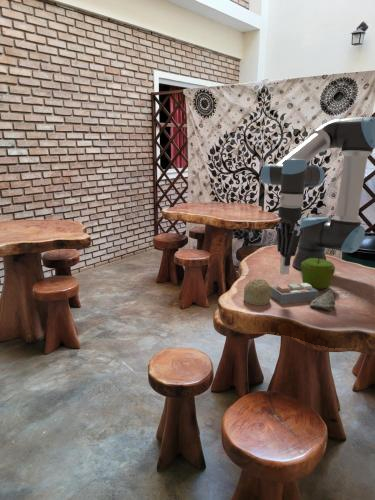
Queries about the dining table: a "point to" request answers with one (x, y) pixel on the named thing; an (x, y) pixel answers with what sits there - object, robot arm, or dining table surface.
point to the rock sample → (324, 301)
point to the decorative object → (257, 292)
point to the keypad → (294, 295)
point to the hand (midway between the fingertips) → (284, 273)
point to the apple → (317, 272)
